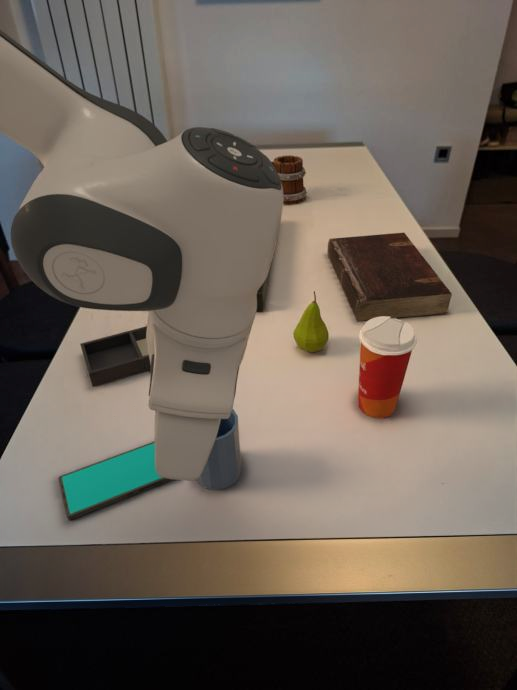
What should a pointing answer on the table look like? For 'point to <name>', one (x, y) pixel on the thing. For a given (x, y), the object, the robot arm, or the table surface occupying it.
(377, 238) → the hardback book
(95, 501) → the smartphone
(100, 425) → the table surface
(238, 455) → the blue cup
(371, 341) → the coffee cup
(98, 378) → the tray
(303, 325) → the fruit
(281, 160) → the mug
